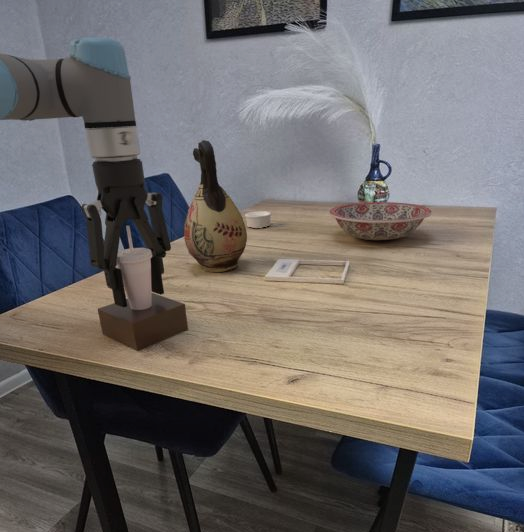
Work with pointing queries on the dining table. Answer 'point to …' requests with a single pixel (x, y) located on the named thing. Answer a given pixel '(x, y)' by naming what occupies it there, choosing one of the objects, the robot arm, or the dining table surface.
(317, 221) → the dining table surface
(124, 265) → the smoothie
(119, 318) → the block
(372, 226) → the ceramic bowl
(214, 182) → the ceramic jug
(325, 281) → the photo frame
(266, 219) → the ramekin
